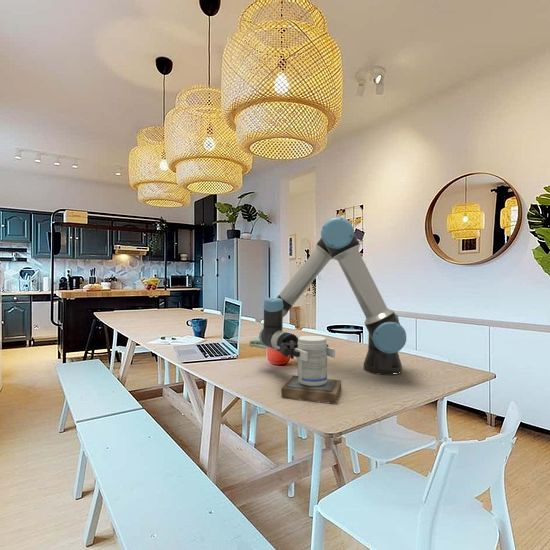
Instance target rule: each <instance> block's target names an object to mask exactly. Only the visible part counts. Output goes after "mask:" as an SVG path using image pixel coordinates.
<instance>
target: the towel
mask: <svg viewBox="0 0 550 550" xmlns="http://www.w3.org/2000/svg"><path fill="white" fill-rule="evenodd" d="M249 345H250V346H251V347H256V348H263V349H267V346H265V345H264V344H262V343H261V341H260V339H259V336H258V337H256V338H253V339H251V340H250V341H249Z"/></svg>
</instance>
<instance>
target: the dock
mask: <svg viewBox="0 0 550 550" xmlns="http://www.w3.org/2000/svg"><path fill="white" fill-rule="evenodd" d="M280 390H281V392H280V393H281V395H280V398H281V397H283V399H288V398H290V399H289V400H297V399H301V400H300V401H306V400H309V401H308V402H314V401H320V402H319V403H323V402H329V403H328V404H331V403H336V404H337V402H336V401H338V399H339V396H340V394H341V391H342V380H341V379H333V378H327V382H326V383H325V384H324V385H321V386H307V385H302V384H300V383H299V382H298V375H292V376H290V378H289V379H288V380H287V381H286V382H285V383H284V384H283V386H282V387H281V389H280ZM340 390H341V391H340ZM338 395H339V396H338ZM337 398H338V399H337Z"/></svg>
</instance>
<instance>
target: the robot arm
mask: <svg viewBox="0 0 550 550" xmlns="http://www.w3.org/2000/svg"><path fill="white" fill-rule="evenodd" d="M320 236H321V237H320V239H319V240H318V241H317V243H316V244H315V249H314V250H313V252H312V253H311V254H310V255H309V256H308V258H307V259H306V260H305V261H304V262H303V264H302V266H300V268H299V269H298V270H297V272H296V273H295V274H294V276H293V277H292V278H291V279H290V280H289V282H287V284H286V285H285V287H284V288H283V289H282V290H281V292H280V293H279V294H278V295H277V296H276V297H266V298H265V299H264V302H263V307H262V308H263V328H262V329H261V330H260V332H259V335H258V337H259V339H260V341H261V343H262V344H264V345H265V346H267V347H270V348H273V349H275V350H274V351H277V352H279V353H281V354H282V355H283V357H286V358H287V357H289V359H291V360H294V358H295V359H296V358H299V359H301V360H304V361H308V352H306V351H303V350H300V349H298V338H297V337H298V336H297V335H295V334H294V333H291V332H287V331H284V330H283V329H284V328H283V326H284V324H283V321H284V319H283V318H284V317H285V316H286V315H287V314H288V313H289V311H290V310H291V309H292V307H293V306H294V305H295V304H296V302H297V301H298V300H299V299H300V298H301V296H302V295H303V294H304V293H305V292H306V290H307V289H308V288H309V286H310V285H311V284H312V283H313V282H314V281H315V279H316V278H317V277H318V275H319V274H320V273H321V271H323V269H324V268H326V266H327V264H329V262H330V261H331V260H335V261H337V262H338V265H339V266H340V268H341V271H342V272H343V274H344V276H345V278H346V280H347V282H348V285H349V287H350V288H351V290H352V292H353V295H354V296H355V298H356V301H357V303H358V304H359V306H360V308H361V311H362V312H363V314H364V317H365V320H364V325H365V328H366V329H367V332H368V346H367V347H368V349H367V352H366V355H365V358H364V360H363V370H364V369H365V370H364V371H366V372H368V371H369V373H372V372H373V373H372V374H376V373H380V374H379V375H385V374H393V373H399V372H401V371H402V372H403V364H402V361H401V359H400V358H401V357H400V355H399V352H400V351H401V350H402V349H403V348H404V347H405V345H406V343H407V333H406V330H405V328H404V327H403V326H402V325H401V323H400V319H399V315H398V314H396V313H395V311H394V310H393V309H390V308H388V306H387V304H386V303H385V300H384V299H383V297H382V295H381V293H380V291H379V288H378V287H377V284H376V282H375V281H374V279H373V277H372V275H371V273H370V271H369V269H368V267H367V265H366V263H365V261H364V259H363V257H362V254H361V252H360V247H361V244H360V241H359V239H358V237H357V235H356V233H355V232H354V227H353V225H352V223H351V222H350V221H349V220H348V219H346V218H344V217H340V216H338V217H332V218H329V219H328V220H327V221H325V223H324V224H323V225H322V227H321V230H320ZM273 349H272V350H273ZM327 357H330V358H332V359H333V358H336V349H335V348H332V347H329V344H327ZM402 372H401V373H402ZM399 374H400V373H399ZM393 375H394V374H393Z"/></svg>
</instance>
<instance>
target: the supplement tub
mask: <svg viewBox="0 0 550 550" xmlns="http://www.w3.org/2000/svg"><path fill="white" fill-rule="evenodd" d="M298 337H299V338H298V349H300V350H303V351H306V352H308V361H304V360H301V359H299V358H298V363H297V376H298V382H299V383H300V384H302V385H307V386H321V385H324V384H325V383H326V382H327V379H328V356H327V345H328V344H327V338H326V336H320V335H301V336H298Z"/></svg>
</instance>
